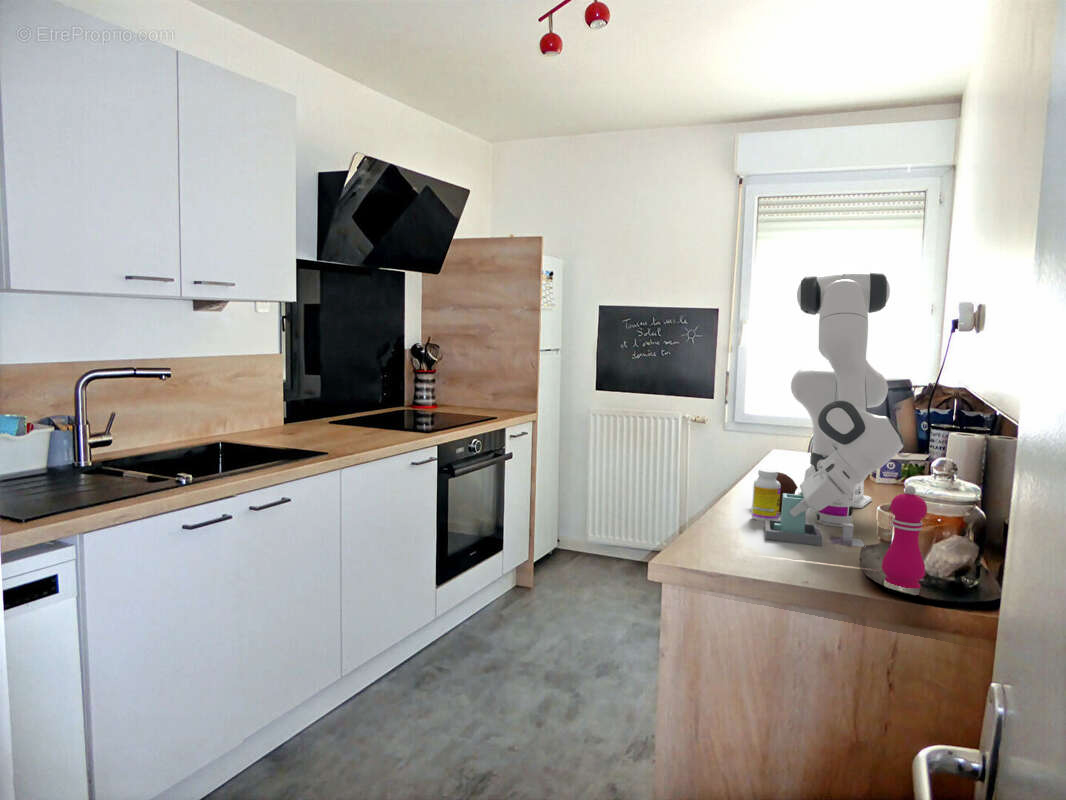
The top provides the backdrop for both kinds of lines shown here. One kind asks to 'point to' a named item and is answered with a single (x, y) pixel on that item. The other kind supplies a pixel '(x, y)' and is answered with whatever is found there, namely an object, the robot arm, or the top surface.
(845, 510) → the supplement can
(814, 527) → the tray
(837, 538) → the square peg base
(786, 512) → the collar
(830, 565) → the top surface
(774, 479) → the supplement bottle
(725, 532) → the top surface
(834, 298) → the robot arm
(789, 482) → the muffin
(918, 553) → the pepper mill
